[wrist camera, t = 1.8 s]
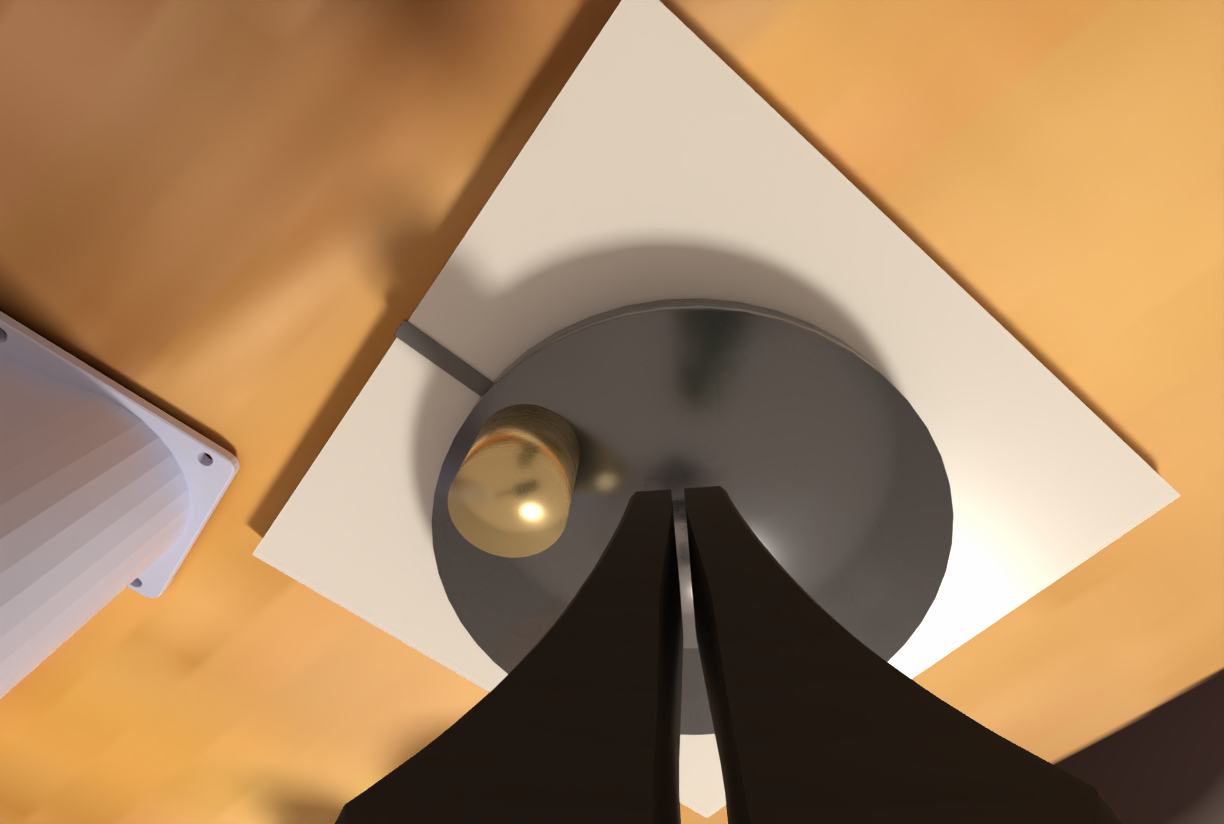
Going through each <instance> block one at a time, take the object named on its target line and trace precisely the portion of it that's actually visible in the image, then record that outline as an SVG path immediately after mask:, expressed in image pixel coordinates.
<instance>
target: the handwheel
mask: <svg viewBox="0 0 1224 824" xmlns="http://www.w3.org/2000/svg"><path fill="white" fill-rule="evenodd" d="M711 486H721V487H722V488H723V489H724V490H726V491H727V493H728V495H729V497H730V499H731V500H732V502H733V504H734V505H735V507H736V508H737V510H738V511H739V513H740V514H741V516H742V517H743V519H744V520H745V521H746V523H747V524H748V525H749V527H750V528H751V530H752V531H753V532H754V533H755V535H756V536H757V537H758V539H759V540H760V541H761V542H762V543H763V545H764V546H765V547H766V548H767V549H768V551H769V552H770V553H771V554H772V555H773V557H774V558H775V559H776V560H777V561H778V563H779V564H780V565H781V566H782V567H783V568H784V569H785V570H786V571H787V573H788V574H789V575H790V576H791V577H792V578H793V579H794V580H795V581H796V582H797V583H798V584H799V585H800V586H801V587H802V588H803V589H804V590H805V591H806V592H807V594H808V595H810V596H811V597H812V598H813V599H814V600H815V601H816V602H817V603H818V604H819V605H820V606H821V607H822V608H823V609H824V610H825V611H826V612H827V613H828V614H829V615H831V616H832V617H833V618H834V619H835V620H836V621H837V622H839V623H840V624H841V625H842V626H843V627H844V628H845V629H846V630H848V631H849V632H850V633H851V634H852V635H853V636H855V637H856V638H857V639H858V640H860V641H861V642H862V643H863V644H865V645H866V646H867V647H868V648H870V649H871V650H872V651H873V652H874V653H876V654H877V655H878V656H880V657H881V658H882V659H884V660H885V661H887V662H888V661H889V660H890V659H891V658H892V657H893V656H894V655H895V654H896V653H897V652H898V651H899V650H900V649H901V648H902V647H903V646H904V645H905V644H906V642H907V641H908V640H909V638H910V637H911V636H912V635H913V633H914V632H915V631H916V629H917V628H918V627H919V625H920V624H921V623H922V621H923V619H924V618H925V616H926V614H927V612H928V611H929V609H930V607H931V605H932V604H933V602H934V600H935V598H936V596H937V593H938V591H939V588H940V586H941V583H942V581H943V578H944V575H945V573H946V569H947V565H948V560H949V556H950V551H951V547H952V536H953V517H954V514H953V506H952V497H951V488H950V483H949V480H948V477H947V473H946V470H945V466H944V463H943V460H942V456H941V454H940V452H939V450H938V448H937V446H936V444H935V442H934V440H933V438H932V436H931V434H930V432H929V430H928V428H927V426H926V425H925V424H924V422H923V421H922V419H921V418H920V417H919V415H918V414H917V413H916V411H915V410H914V408H913V407H912V406H911V404H910V403H909V401H908V400H907V399H906V398H905V397H904V396H903V395H902V394H901V393H900V391H899V390H898V389H897V388H896V387H895V386H894V385H893V384H892V383H891V382H890V381H889V380H888V379H887V378H886V377H885V376H884V375H883V374H882V373H881V372H880V371H879V370H878V369H877V368H876V367H875V366H874V365H873V364H872V363H871V362H870V361H869V360H868V359H867V358H865V357H864V356H863V355H861V354H860V353H859V352H857V351H856V350H855V349H853V348H852V347H850V346H849V345H848V344H846V343H845V342H844V341H842V340H841V339H839V338H837V337H835V336H833V335H832V334H830V333H828V332H826V331H824V330H822V329H820V328H819V327H817V326H815V325H813V324H811V323H809V322H806V321H804V320H801V319H798V318H796V317H793V316H790V315H787V314H785V313H782V312H779V311H777V310H773V309H769V308H764V307H760V306H755V305H751V304H747V303H742V302H736V301H725V300H714V299H704V298H695V299H667V300H658V301H652V302H646V303H640V304H634V305H628V306H624V307H620V308H617V309H614V310H610V311H607V312H604V313H600V314H597V315H594V316H590V317H588V318H586V319H584V320H582V321H579V322H577V323H575V324H573V325H570V326H568V327H566V328H564V329H562V330H559V331H557V332H556V333H554V334H553V335H551V336H549V337H548V338H546V339H544V340H543V341H541V342H540V343H538V344H536V345H535V346H533V347H532V348H530V349H528V350H527V351H526V352H525V353H524V354H523V355H521V356H520V357H519V358H518V359H517V360H515V361H514V362H513V363H512V364H511V365H509V366H508V367H507V368H506V369H505V370H503V371H502V373H501V374H500V375H499V376H498V377H497V378H496V379H495V380H494V382H493V383H492V384H491V385H490V386H489V387H488V388H487V389H486V390H485V392H484V393H483V394H482V395H481V397H480V398H479V400H478V401H477V403H476V404H475V406H474V407H473V409H472V410H471V412H470V413H469V415H468V417H467V418H466V420H465V421H464V423H463V424H462V426H461V428H460V429H459V431H458V432H457V434H456V436H455V437H454V440H453V442H452V444H451V446H450V448H449V451H448V453H447V455H446V457H445V459H444V462H443V464H442V467H441V470H440V474H439V478H438V481H437V485H436V489H435V493H434V502H433V511H432V539H433V550H434V555H435V560H436V564H437V569H438V574H439V576H440V579H441V582H442V584H443V587H444V590H445V593H446V595H447V598H448V600H449V602H450V604H451V605H452V607H453V609H454V611H455V613H456V615H457V616H458V618H459V620H460V622H461V623H462V625H463V626H464V627H465V629H466V630H467V632H468V633H469V634H470V636H471V637H472V638H473V640H474V641H475V642H476V644H477V645H478V646H479V647H480V648H481V649H482V650H483V651H484V652H485V653H486V654H487V655H488V656H489V657H490V659H491V660H492V661H493V662H494V663H495V664H497V665H498V666H499V667H500V668H501V669H503V670H504V671H505V672H506V673H507V674H509V673H510V672H511V671H512V670H513V669H514V668H515V667H516V666H517V665H518V663H519V662H520V661H521V660H522V659H523V658H524V657H525V656H526V655H527V654H528V653H529V652H530V651H531V650H532V649H533V648H534V646H535V645H536V644H537V643H538V642H539V641H540V640H541V638H542V637H543V636H544V635H545V634H546V632H547V631H548V630H549V629H550V628H551V627H552V625H553V624H554V623H555V622H556V620H557V619H558V618H559V617H560V615H561V614H562V613H563V611H564V610H565V609H566V607H567V606H568V605H569V603H570V602H571V601H572V599H573V598H574V596H575V595H576V593H577V592H578V591H579V589H580V588H581V586H582V585H583V583H584V582H585V580H586V579H587V577H588V576H589V575H590V573H591V572H592V570H593V569H594V567H595V565H596V564H597V562H598V560H599V559H600V557H601V555H602V553H603V552H604V550H605V548H606V547H607V545H608V543H609V542H610V540H611V538H612V536H613V534H614V532H615V530H616V528H617V527H618V525H619V523H620V521H621V519H622V516H623V514H624V512H625V510H626V507H627V505H628V502H629V499H630V497H631V496H632V495H633V494H634V493H635V492H639V491H653V490H668V489H671V492H672V503H673V514H674V525H675V536H676V547H677V558H678V570H679V581H680V594H681V608H682V622H683V636H684V639H683V670H682V699H681V727H680V735H706V734H715V732H714V727H713V722H712V717H711V712H710V706H709V701H708V696H707V691H706V686H705V680H704V675H703V670H702V665H701V660H700V654H699V649H698V644H697V639H696V629H695V618H694V606H693V595H692V583H691V571H690V558H689V546H688V533H687V521H686V508H685V496H684V488H696V487H711Z"/></svg>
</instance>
